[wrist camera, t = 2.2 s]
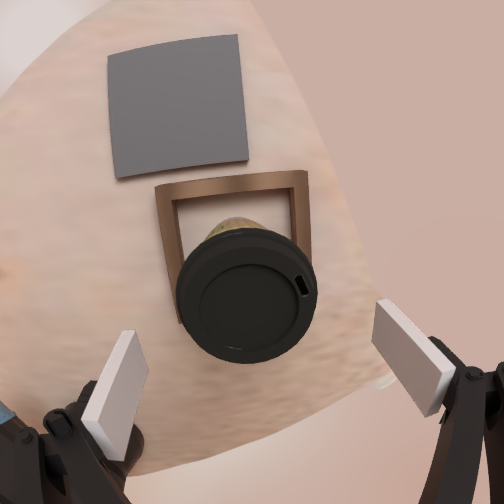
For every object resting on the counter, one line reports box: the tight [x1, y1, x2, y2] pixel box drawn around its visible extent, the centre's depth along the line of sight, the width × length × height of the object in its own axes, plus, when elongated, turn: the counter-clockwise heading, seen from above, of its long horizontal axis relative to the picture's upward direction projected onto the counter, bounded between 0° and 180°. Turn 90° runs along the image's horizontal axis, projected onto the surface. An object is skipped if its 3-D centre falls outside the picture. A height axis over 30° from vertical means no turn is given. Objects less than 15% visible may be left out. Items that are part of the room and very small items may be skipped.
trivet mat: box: [108, 34, 249, 178], centre depth 27 cm, size 14×14×1 cm
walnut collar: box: [155, 170, 312, 324], centre depth 32 cm, size 15×15×2 cm
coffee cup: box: [175, 217, 318, 364], centre depth 26 cm, size 10×10×15 cm
